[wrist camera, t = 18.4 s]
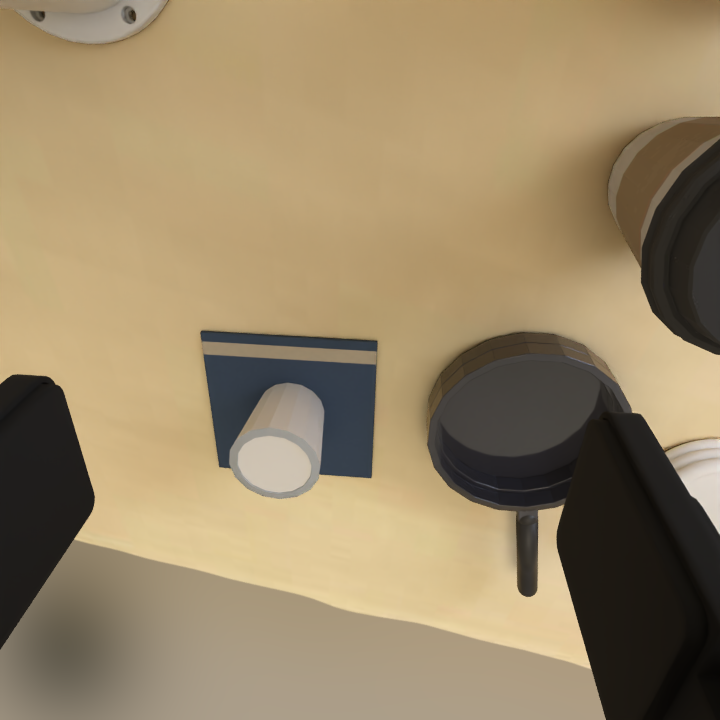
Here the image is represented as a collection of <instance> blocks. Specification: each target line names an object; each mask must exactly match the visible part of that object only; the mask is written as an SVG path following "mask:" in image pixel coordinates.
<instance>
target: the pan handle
mask: <svg viewBox="0 0 720 720" xmlns="http://www.w3.org/2000/svg"><path fill="white" fill-rule="evenodd" d="M520 510H521V509H520ZM523 510H524V509H523ZM523 510H522V511H517V514H516V538H517V587H518V590H519V592H520V593H521V594H522V595H523V596H526V597H531V596H533V595H535V593H536V592H537V581H538V510H534V511H528V510H529V509H528V510H527V509H526V512H523Z"/></svg>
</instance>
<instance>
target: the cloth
mask: <svg viewBox="0 0 720 720" xmlns="http://www.w3.org/2000/svg"><path fill="white" fill-rule="evenodd" d="M200 333H201V340H202V348H203V354H204V361H205V369H206V376H207V383H208V390H209V397H210V404H211V411H212V418H213V426H214V433H215V440H216V447H217V454H218V461H219V467H223V468H231V467H230V464H229V459H230V449H231V447H232V446H233V444H234V442H235V441H236V439H237V437H238V436H239V434H240V432H241V431H242V429H243V427H244V426H245V424H246V422H247V421H248V419H249V417H250V416H251V414H252V412H253V410H254V409H255V407H256V405H257V404H258V402H259V400H260V399H261V397H262V396H263V394H264V392H265V391H266V390H268V389H269V388H271V387H273V386H274V385H277V384H283V383H293V384H299V385H302V386H304V387H306V388H308V389H310V390H312V391H313V392H314V393H315V394H316V395H317V396H318V398H319V399H320V400H321V402H322V405H323V408H324V424H323V437H322V451H321V464H320V471H319V474H321V475H335V476H349V477H363V478H371V476H372V453H373V430H374V407H375V384H376V361H377V341H370V340H352V339H335V338H318V337H300V336H283V335H265V334H248V333H230V332H213V331H201V332H200Z"/></svg>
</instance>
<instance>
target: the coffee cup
mask: <svg viewBox="0 0 720 720" xmlns="http://www.w3.org/2000/svg"><path fill="white" fill-rule="evenodd" d="M608 204H609V207H610V210H611V212H612V215H613V217H614V220H615V222H616V223H617V225H618V227H619V229H620V231H621V233H622V234H623V236H624V238H625V240H626V242H627V243H628V245H629V247H630V249H631V251H632V252H633V254H634V256H635V258H636V260H637V261H638V263H639V265H640V267H641V284H642V286H643V289H644V291H645V294H646V297H647V299H648V302H649V304H650V307H651V309H652V312H653V313H654V314H655V315H656V316H657V317H658V318H659V319H660V320H661V321H662V322H663V323H664V324H665V325H666V326H667V327H668V328H669V329H670V330H671V331H672V332H673V333H674V334H675V335H677V336H679V337H681V338H682V339H683V340H684V341H687V342H689V343H691V344H693V345H696V346H698V347H700V348H702V349H705V350H707V351H709V352H711V353H714V354H717V355H720V117H683V118H678V119H674V120H669V121H665V122H662V123H660V124H657V125H656V126H654V127H652V128H650V129H648V130H646V131H644V132H643V133H641V134H639V135H638V136H637V137H636V138H635V139H634V140H633V141H632V142H630V143H629V144H628V145H627V146H626V147H625V148H624V149H623V151H622V153H621V154H620V156H619V157H618V159H617V160H616V162H615V163H614V165H613V169H612V172H611V175H610V178H609V182H608Z"/></svg>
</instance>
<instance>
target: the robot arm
mask: <svg viewBox="0 0 720 720" xmlns="http://www.w3.org/2000/svg"><path fill="white" fill-rule="evenodd" d="M167 1H168V0H0V9H13V10H14V11H16V12H17V13H18V14H19V15H21V16H22V17H23V18H24V19H26V20H27V21H28V22H29V23H31V24H33V25H34V26H36V27H38V28H40V29H41V30H43V31H45V32H47V33H48V34H50V35H53V36H56V37H59V38H62V39H65V40H67V41H71V42H78V43H85V44H106V43H111V42H116V41H120V40H124V39H126V38H128V37H130V36H132V35H135V34H137V33H139V32H140V31H142V30H143V29H144V28H145V27H146V26H148V25H149V24H150V23H151V22H152V21H153V20H155V18H156V17H157V16H158V14H159V13H160V12H161V10H162V9H163V8H164V6H165V5H166V4H167ZM43 11H44V12H45V16H44V15H43ZM132 11H135V14H136V20H134V19H133V18H132V16H131V15H132ZM94 501H95V496H94V491H93V488H92V485H91V481H90V478H89V475H88V471H87V468H86V465H85V462H84V458H83V455H82V452H81V448H80V445H79V442H78V438H77V435H76V432H75V428H74V425H73V422H72V418H71V415H70V412H69V408H68V405H67V402H66V398H65V395H64V392H63V390H62V388H61V387H60V386H58V385H55V383H54V381H53V380H52V379H51V378H49V377H47V376H34V375H18V374H17V375H12V376H10V377H9V378H7V379H6V380H5V381H4V382H2V383H1V384H0V649H1V647H2V646H3V645H4V643H5V642H6V640H7V639H8V637H9V636H10V634H11V633H12V631H13V630H14V628H15V627H16V625H17V623H18V622H19V621H20V619H21V618H22V616H23V615H24V613H25V612H26V610H27V609H28V607H29V606H30V604H31V603H32V601H33V600H34V598H35V597H36V595H37V594H38V592H39V591H40V589H41V588H42V586H43V585H44V583H45V582H46V580H47V579H48V577H49V576H50V574H51V573H52V571H53V570H54V568H55V567H56V565H57V564H58V562H59V561H60V559H61V558H62V556H63V555H64V553H65V552H66V550H67V549H68V547H69V546H70V544H71V543H72V541H73V540H74V538H75V537H76V535H77V534H78V532H79V531H80V529H81V528H82V526H83V525H84V523H85V522H86V520H87V519H88V517H89V516H90V514H91V512H92V510H93V507H94ZM557 549H558V553H559V556H560V560H561V563H562V567H563V570H564V574H565V577H566V581H567V584H568V588H569V591H570V595H571V598H572V602H573V606H574V609H575V613H576V616H577V620H578V623H579V627H580V630H581V634H582V637H583V641H584V644H585V648H586V651H587V655H588V658H589V662H590V665H591V669H592V672H593V675H594V679H595V683H596V686H597V690H598V693H599V697H600V700H601V704H602V707H603V711H604V714H605V718H606V720H720V534H719V533H718V531H717V529H716V528H715V526H714V524H713V523H712V521H711V520H710V518H709V516H708V515H707V513H706V512H705V510H704V508H703V507H702V505H701V504H700V503H699V502H698V500H697V499H696V498H694V497H692V496H691V495H690V493H689V492H688V490H687V488H686V487H685V485H684V483H683V482H682V480H681V478H680V477H679V475H678V474H677V472H676V470H675V469H674V467H673V465H672V464H671V462H670V460H669V459H668V457H667V455H666V454H665V452H664V450H663V449H662V447H661V446H660V444H659V442H658V441H657V439H656V437H655V436H654V434H653V432H652V431H651V429H650V427H649V426H648V424H647V422H646V421H645V419H644V418H643V417H642V415H640V414H637V413H621V412H603V413H602V414H601V415H600V417H599V419H592V420H590V421H589V423H588V425H587V428H586V432H585V435H584V439H583V442H582V446H581V449H580V452H579V456H578V459H577V463H576V466H575V470H574V473H573V477H572V480H571V484H570V487H569V491H568V494H567V497H566V501H565V504H564V508H563V511H562V515H561V518H560V522H559V525H558V529H557Z"/></svg>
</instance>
